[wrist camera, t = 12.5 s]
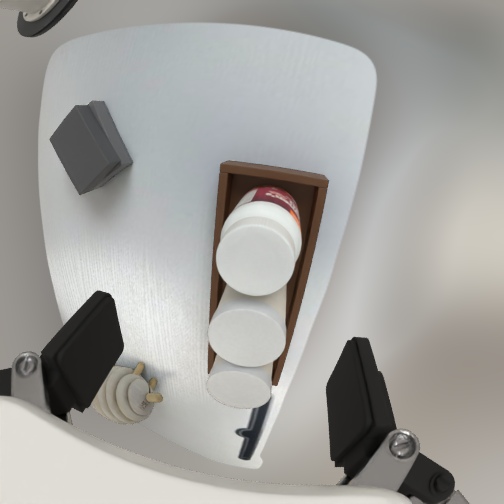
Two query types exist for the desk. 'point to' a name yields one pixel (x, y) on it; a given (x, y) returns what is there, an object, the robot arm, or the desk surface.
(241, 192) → the tray
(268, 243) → the pill bottle
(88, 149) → the grey books
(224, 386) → the white bottle
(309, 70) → the desk surface
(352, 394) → the robot arm
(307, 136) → the desk surface
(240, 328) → the white bottle
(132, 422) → the toy sheep
